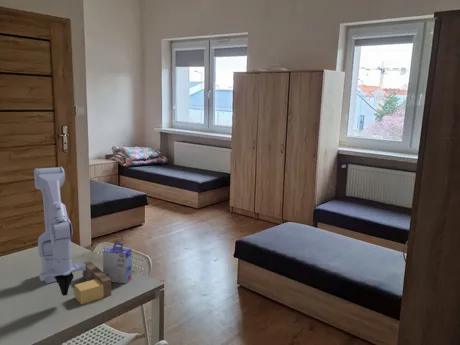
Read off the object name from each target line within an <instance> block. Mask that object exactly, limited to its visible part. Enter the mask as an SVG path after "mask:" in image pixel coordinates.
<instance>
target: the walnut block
mask: <svg viewBox="0 0 460 345" xmlns="http://www.w3.org/2000/svg"><path fill="white" fill-rule="evenodd" d="M82 263H84V264H85V265H86V270H82V277H83V279H84V280H85V281H86V282H87V281H90V280H94V279H97V280H99V281H100V282H101V283H102V284H103V291H104V297H109V296H112V282H111V279H110V278H109V277H108V276H107V275H106V274H105V273H103V270H101V269H100V268H99V267H98V266H97V265H95V264H94V263H93V261H91V260H88V261H84V262H82Z"/></svg>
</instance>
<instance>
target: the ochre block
mask: <svg viewBox="0 0 460 345" xmlns="http://www.w3.org/2000/svg"><path fill="white" fill-rule="evenodd" d="M74 299H76V300H77V302H78V303H79V304H80V305H83V304H84V305H85V304H87V303H90V302H94V301H97V300H101V299H104V291H103V284H102V283H101V282H100V281H99V280H97V279H94V280H90V281H87V280H86V281H84V282H79V283H77V284H74Z"/></svg>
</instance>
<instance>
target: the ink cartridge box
mask: <svg viewBox="0 0 460 345" xmlns="http://www.w3.org/2000/svg"><path fill="white" fill-rule="evenodd" d="M123 245H124V243H121V242H114V244H113V247H112V246H109V247H107V248H105V250H103V251H102V272H103V273H105V274H106V275H107V276H108V277H109V278H110V279H111V283H119V284H127V283H129V281H131V280H132V279H133V273H132V272H133V263H132V262H133V260H132V259H133V256H132V255H133V254H132V251H133V250H132V249H131V248H123V247H124V246H123Z"/></svg>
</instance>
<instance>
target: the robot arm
mask: <svg viewBox="0 0 460 345" xmlns="http://www.w3.org/2000/svg"><path fill="white" fill-rule="evenodd" d="M33 178H34V187H35V189H37V190H40V191H41V194H42V201H43V215H44V227H45V228H44V230H45V231H44V232H43V233H42V234H41V235H39V237H38V238H37V250H38V256H39V257H40V258H41V270H42V271H41V273H39V274H38V276H39V280H40V281H41V282H43V281H44V282H45V283H46V284H52V283H55V282H56V283H57V284H58V287H59V288H60V293H61V295H62V296H65V297H66V296H68V293H69V289H70V285H71V283H72V281H73V279H74V274H73V273H76V272H80V271H83V270H86V265H85V264H84V263H83V262H80V263H73V261H72V260H73V259H72V258H73V257H72V256H73V255H72V240H71V239H72V238H73V233H74V232H73V225H72V222H71V220H70V218H69V216H68V213H67V207H66V204H64V203H63V202H62V199H61V198H62V196H61V187H63V186H64V184H65V182H66V180H65V179H66V173H65V169H64V168H63V166H58V167H47V168H46V167H42V168H37V167H36V168H34V170H33Z"/></svg>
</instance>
